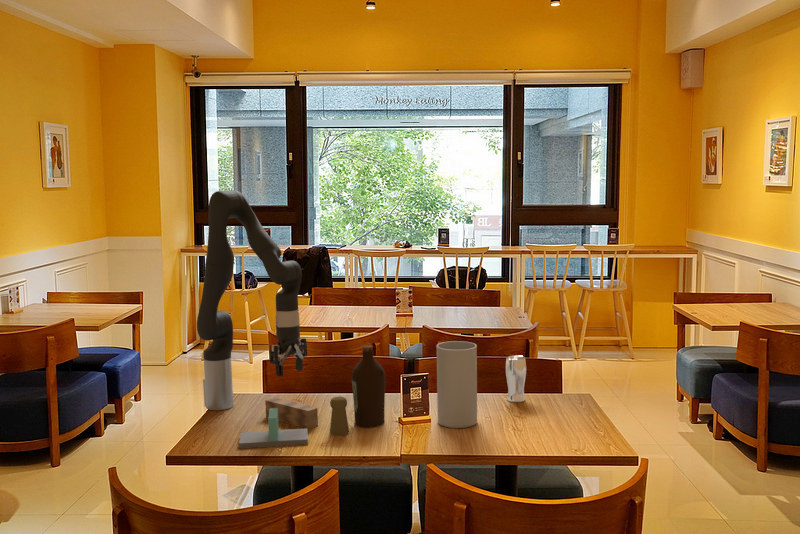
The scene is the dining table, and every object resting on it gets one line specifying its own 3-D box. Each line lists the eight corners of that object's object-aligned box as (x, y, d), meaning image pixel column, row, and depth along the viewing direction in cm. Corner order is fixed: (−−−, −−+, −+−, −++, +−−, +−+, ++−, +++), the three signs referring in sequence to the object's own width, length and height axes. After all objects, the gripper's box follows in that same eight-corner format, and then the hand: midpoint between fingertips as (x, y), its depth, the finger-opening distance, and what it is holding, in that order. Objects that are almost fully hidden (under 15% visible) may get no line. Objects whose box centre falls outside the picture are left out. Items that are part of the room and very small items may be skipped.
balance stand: (239, 448, 231) (237, 420, 230) (241, 437, 241) (240, 410, 240) (307, 444, 234) (306, 416, 233) (307, 433, 244) (306, 406, 242)
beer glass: (529, 398, 275) (529, 356, 273) (521, 403, 269) (521, 360, 267) (510, 396, 279) (510, 354, 277) (502, 401, 273) (502, 358, 271)
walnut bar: (266, 418, 260) (265, 400, 259) (275, 414, 263) (274, 397, 262) (309, 429, 248) (308, 410, 247) (318, 426, 251) (317, 407, 250)
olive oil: (386, 417, 258) (384, 342, 254) (386, 427, 247) (384, 349, 244) (353, 418, 257) (351, 343, 254) (352, 428, 247) (350, 350, 244)
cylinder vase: (450, 414, 259) (450, 339, 256) (484, 420, 252) (483, 344, 249) (430, 424, 249) (428, 347, 246) (464, 431, 242) (463, 351, 239)
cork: (334, 436, 240) (333, 401, 239) (326, 430, 245) (325, 396, 244) (352, 433, 243) (351, 398, 241) (344, 427, 248) (343, 393, 247)
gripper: (295, 318, 259) (297, 367, 261) (262, 326, 248) (264, 376, 250) (311, 321, 255) (313, 370, 257) (279, 328, 244) (281, 380, 246)
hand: (289, 373), depth 253 cm, fingers open, 8 cm apart
